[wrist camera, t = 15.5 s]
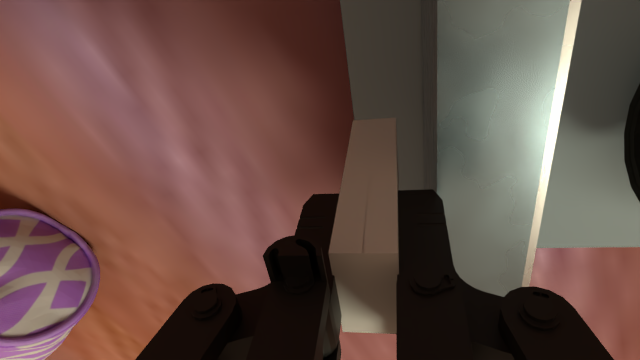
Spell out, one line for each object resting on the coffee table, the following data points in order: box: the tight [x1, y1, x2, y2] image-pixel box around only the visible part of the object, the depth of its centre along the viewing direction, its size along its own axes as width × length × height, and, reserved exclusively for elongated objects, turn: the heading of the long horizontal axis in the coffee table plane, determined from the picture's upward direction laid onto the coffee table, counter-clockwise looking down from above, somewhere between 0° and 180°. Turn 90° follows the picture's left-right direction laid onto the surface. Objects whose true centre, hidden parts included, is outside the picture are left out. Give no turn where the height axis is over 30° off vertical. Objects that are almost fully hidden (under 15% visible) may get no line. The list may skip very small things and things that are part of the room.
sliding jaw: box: [421, 0, 582, 297], centre depth 12 cm, size 22×3×7 cm, turn 9°
